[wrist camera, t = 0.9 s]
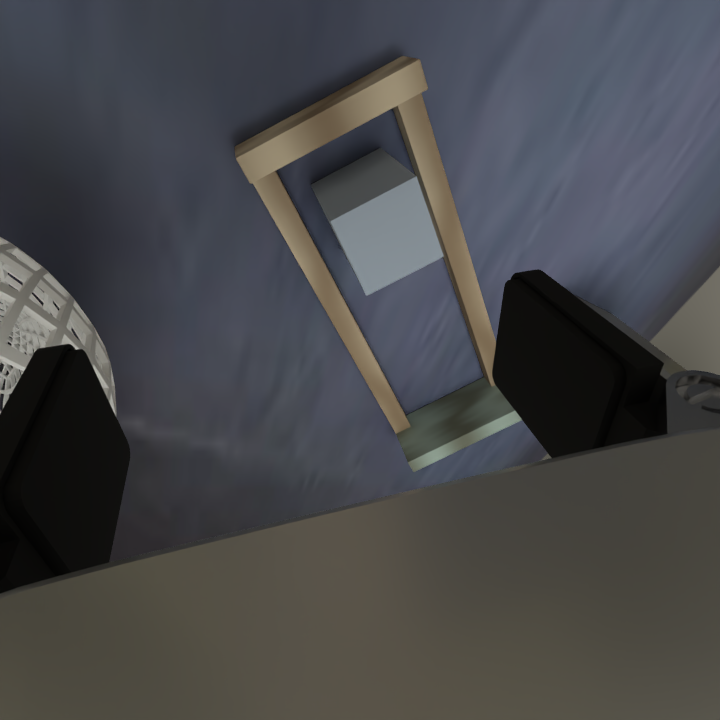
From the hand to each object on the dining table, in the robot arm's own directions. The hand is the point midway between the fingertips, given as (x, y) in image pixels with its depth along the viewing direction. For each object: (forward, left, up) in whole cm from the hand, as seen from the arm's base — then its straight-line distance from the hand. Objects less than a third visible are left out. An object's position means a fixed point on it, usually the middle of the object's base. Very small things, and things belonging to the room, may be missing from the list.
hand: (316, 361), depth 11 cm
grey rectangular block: (-4, +6, -22) cm, 23 cm away
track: (-4, +13, -22) cm, 26 cm away
